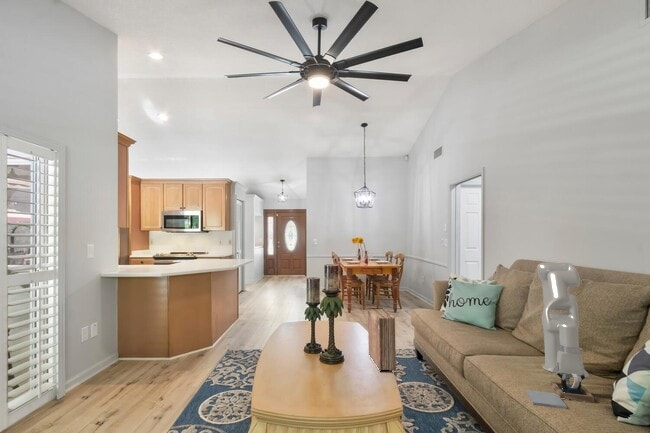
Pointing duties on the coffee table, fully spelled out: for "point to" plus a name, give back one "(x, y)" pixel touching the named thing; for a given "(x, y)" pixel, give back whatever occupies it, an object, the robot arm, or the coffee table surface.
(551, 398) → the pad
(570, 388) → the watch
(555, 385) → the pocket frame
